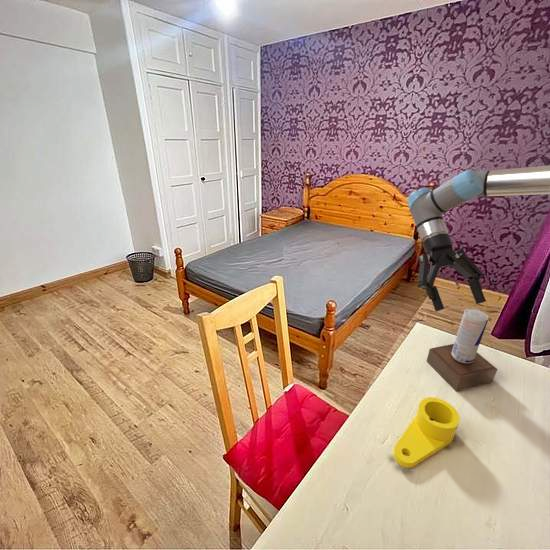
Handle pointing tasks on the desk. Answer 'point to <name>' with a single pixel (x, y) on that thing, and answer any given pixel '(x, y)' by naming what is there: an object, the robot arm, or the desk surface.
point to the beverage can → (469, 335)
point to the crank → (427, 432)
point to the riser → (460, 369)
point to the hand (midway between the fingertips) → (460, 306)
